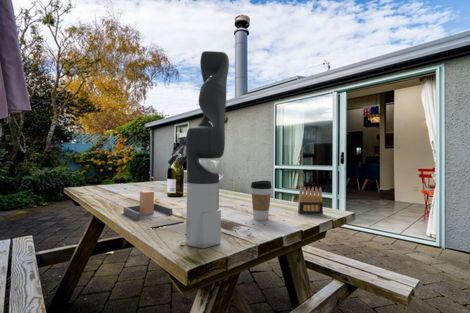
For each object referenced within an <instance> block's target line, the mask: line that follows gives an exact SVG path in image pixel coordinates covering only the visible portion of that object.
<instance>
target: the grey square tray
mask: <svg viewBox="0 0 470 313" xmlns="http://www.w3.org/2000/svg"><path fill="white" fill-rule="evenodd" d="M123 214H124V215H126V216H127V217H130V218H132V219H134V220H135V221H143V220H150V219H156V218H162V217H168V216H173V208H171V207H170V206H169V207H168V206H166V205H162V204H159V203H156V202H154V214H149V215H142V214H140V204H138V205H129V206H124V207H123Z"/></svg>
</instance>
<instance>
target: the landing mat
mask: <svg viewBox="0 0 470 313" xmlns="http://www.w3.org/2000/svg"><path fill="white" fill-rule="evenodd" d="M184 223H185V222H184V221H178V222H172V223H167V224H162V225H157V226H151V227H150V229H151V228H152V229H151V230H154V229H153V228H155V229H160V228H159V227H161V228H164V226H166V227H170V226H176V225H180V224H184Z"/></svg>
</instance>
